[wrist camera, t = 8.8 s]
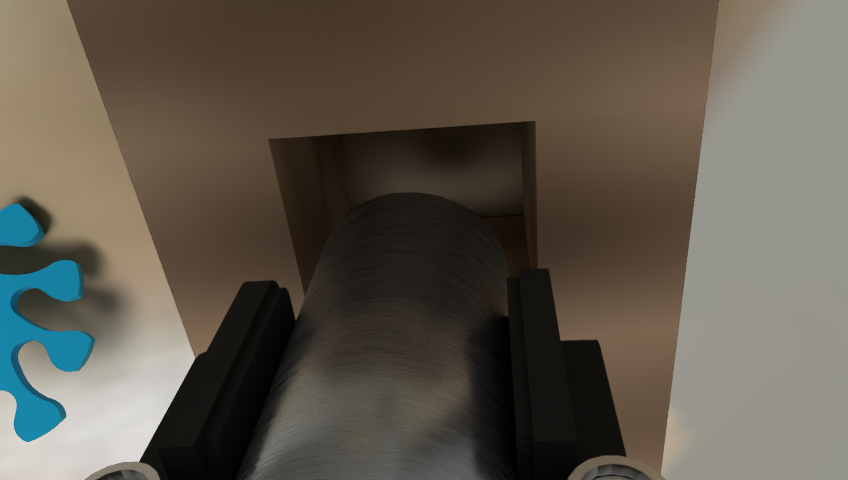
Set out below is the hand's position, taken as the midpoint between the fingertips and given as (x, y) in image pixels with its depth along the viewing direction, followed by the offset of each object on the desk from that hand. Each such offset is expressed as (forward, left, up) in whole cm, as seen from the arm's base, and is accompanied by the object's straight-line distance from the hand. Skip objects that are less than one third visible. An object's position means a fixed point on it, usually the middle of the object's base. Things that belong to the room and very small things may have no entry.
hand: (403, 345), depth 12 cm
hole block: (0, 0, -9) cm, 9 cm away
